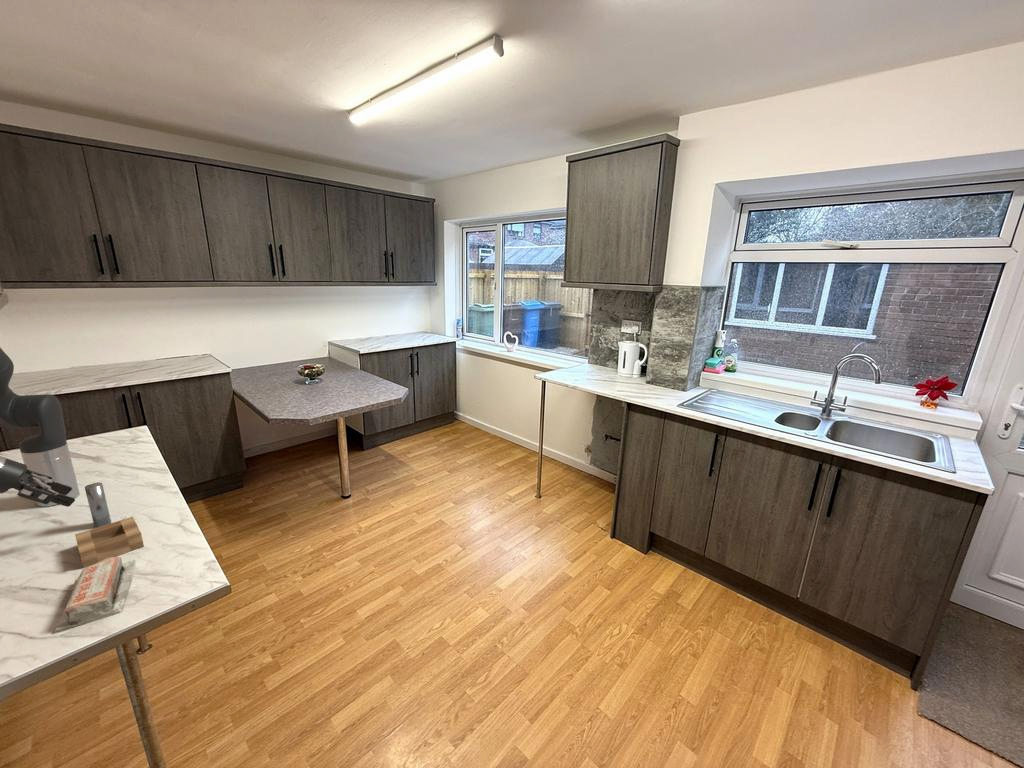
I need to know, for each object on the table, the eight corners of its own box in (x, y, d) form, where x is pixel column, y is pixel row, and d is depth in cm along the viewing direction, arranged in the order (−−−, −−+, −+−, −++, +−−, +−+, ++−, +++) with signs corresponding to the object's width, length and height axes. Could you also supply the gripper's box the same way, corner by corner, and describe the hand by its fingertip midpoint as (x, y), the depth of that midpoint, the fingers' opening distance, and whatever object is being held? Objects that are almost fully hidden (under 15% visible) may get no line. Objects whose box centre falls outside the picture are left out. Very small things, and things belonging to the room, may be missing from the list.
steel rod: (93, 524, 114) (83, 485, 111) (110, 519, 117) (101, 481, 114) (95, 529, 112) (85, 489, 109) (112, 524, 115) (103, 485, 112)
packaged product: (119, 594, 85) (49, 615, 79) (124, 613, 86) (56, 635, 80) (133, 547, 99) (74, 562, 93) (137, 564, 100) (79, 580, 94)
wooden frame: (78, 548, 104) (74, 534, 103) (135, 529, 113) (132, 516, 112) (83, 568, 98) (79, 553, 97) (144, 546, 106) (141, 533, 105)
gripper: (4, 467, 94) (86, 493, 105) (4, 449, 103) (80, 475, 114) (-27, 496, 91) (60, 520, 103) (-24, 476, 100) (56, 500, 111)
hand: (70, 497), depth 108 cm, fingers open, 8 cm apart
